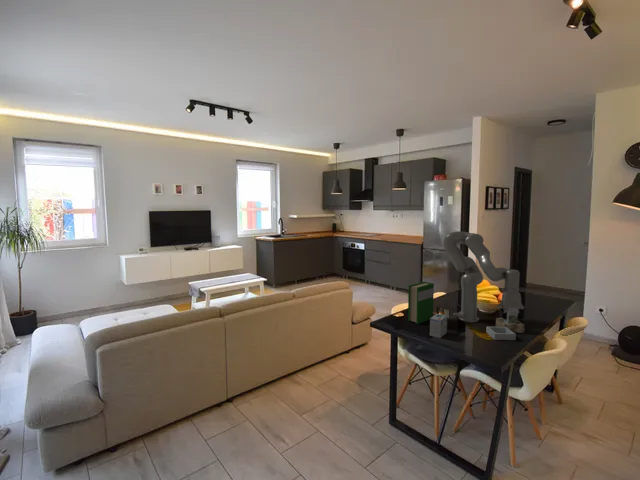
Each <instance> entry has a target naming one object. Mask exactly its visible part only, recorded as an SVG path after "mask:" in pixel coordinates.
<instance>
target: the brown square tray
mask: <svg viewBox="0 0 640 480" xmlns="http://www.w3.org/2000/svg"><path fill="white" fill-rule="evenodd" d="M525 326H526V325H525V324H524V323H523V322H522V321H520V320H519V319H518V320H517V324H506V323H504V322H503V317H496V318H495V327H507V328H508V329H510V330H511V331H512V332H514V333H515V334H524V333H525Z"/></svg>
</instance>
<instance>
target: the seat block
mask: <svg viewBox="0 0 640 480" xmlns="http://www.w3.org/2000/svg"><path fill="white" fill-rule="evenodd" d="M485 331H486V332H485V333H486V334H488V336H490V337H491V338H492V339H493V340H494V341H516V340H517V333H514V332H512V331H511V330H510V329H508V328H507V327H497V326H486V330H485Z"/></svg>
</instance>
